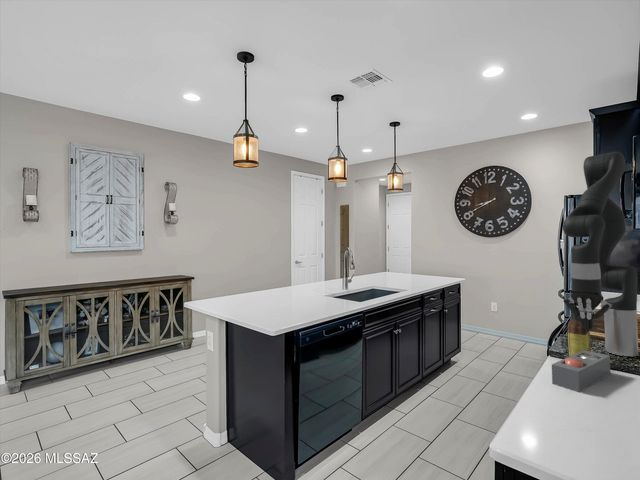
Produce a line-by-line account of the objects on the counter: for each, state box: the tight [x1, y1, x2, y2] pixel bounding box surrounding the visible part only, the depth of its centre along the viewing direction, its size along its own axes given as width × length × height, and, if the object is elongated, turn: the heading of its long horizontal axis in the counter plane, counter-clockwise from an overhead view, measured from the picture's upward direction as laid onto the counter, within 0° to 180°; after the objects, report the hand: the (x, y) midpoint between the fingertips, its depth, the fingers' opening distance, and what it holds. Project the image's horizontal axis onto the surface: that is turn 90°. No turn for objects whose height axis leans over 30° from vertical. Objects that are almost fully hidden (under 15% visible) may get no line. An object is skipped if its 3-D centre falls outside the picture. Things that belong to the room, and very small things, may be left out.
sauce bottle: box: [567, 305, 592, 357], centre depth 119 cm, size 7×6×20 cm
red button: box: [564, 357, 583, 368], centre depth 103 cm, size 4×4×5 cm
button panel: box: [551, 350, 611, 393], centre depth 106 cm, size 22×7×6 cm, turn 121°
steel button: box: [580, 354, 597, 361], centre depth 108 cm, size 4×4×5 cm
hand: (588, 329), depth 108 cm, fingers closed
